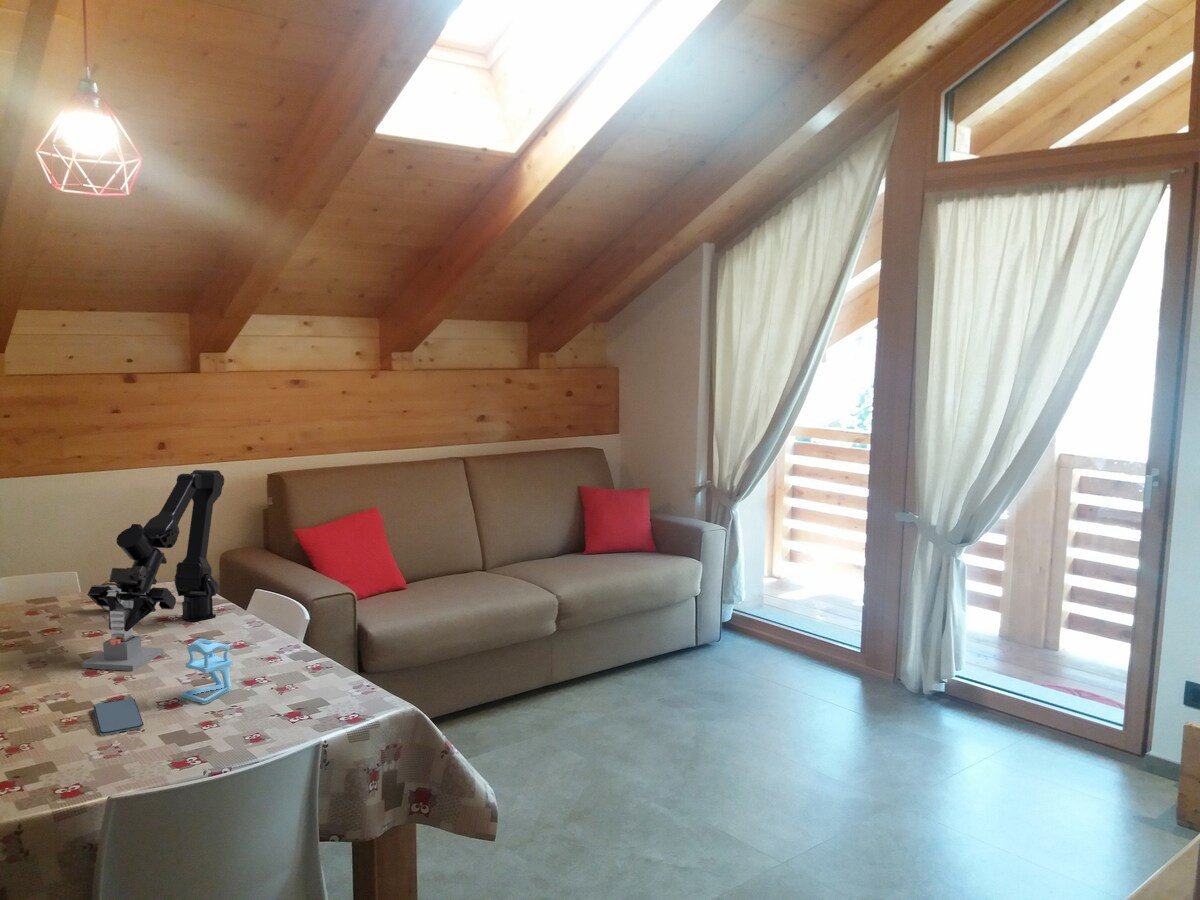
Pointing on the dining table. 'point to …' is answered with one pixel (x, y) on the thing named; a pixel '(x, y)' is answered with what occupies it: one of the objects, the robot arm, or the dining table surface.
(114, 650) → the base
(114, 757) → the dining table surface
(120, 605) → the robot arm
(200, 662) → the light blue holder stand
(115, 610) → the column
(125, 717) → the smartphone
